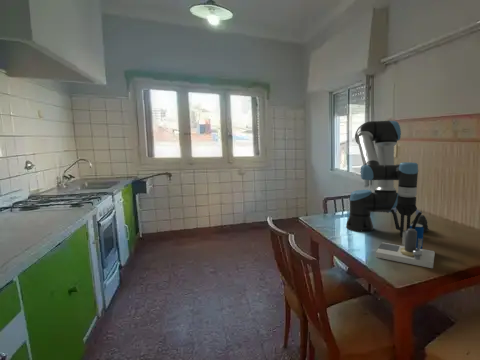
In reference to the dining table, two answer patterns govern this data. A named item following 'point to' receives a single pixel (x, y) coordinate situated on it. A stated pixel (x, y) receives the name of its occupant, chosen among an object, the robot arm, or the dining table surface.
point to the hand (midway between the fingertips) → (404, 244)
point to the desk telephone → (394, 254)
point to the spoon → (418, 248)
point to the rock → (422, 222)
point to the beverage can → (418, 232)
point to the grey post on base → (409, 242)
